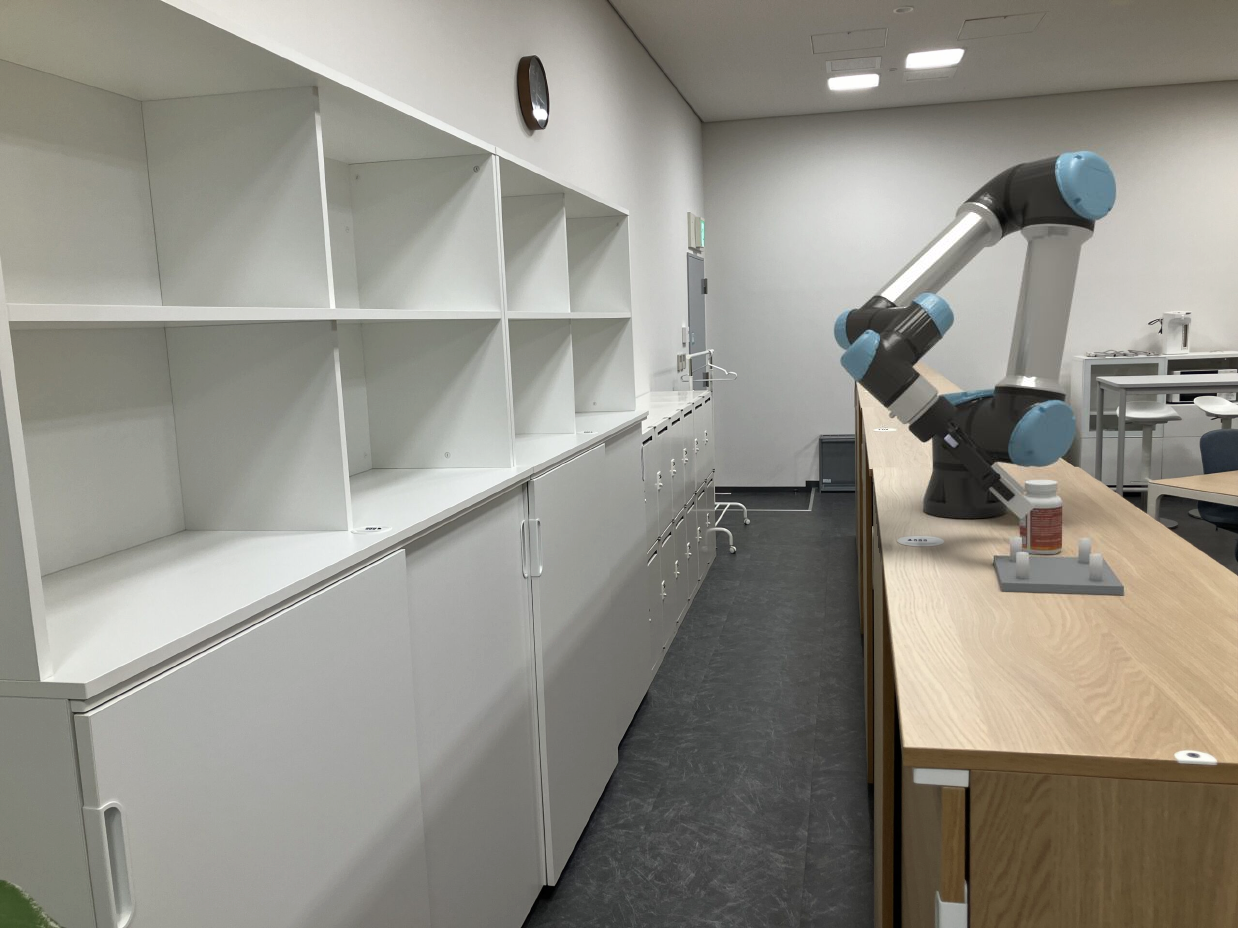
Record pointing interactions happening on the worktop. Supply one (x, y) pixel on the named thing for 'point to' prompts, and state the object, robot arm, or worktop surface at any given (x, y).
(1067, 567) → the peg board
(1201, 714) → the worktop surface
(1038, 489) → the pill bottle
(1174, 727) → the worktop surface
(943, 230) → the robot arm
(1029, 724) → the worktop surface
